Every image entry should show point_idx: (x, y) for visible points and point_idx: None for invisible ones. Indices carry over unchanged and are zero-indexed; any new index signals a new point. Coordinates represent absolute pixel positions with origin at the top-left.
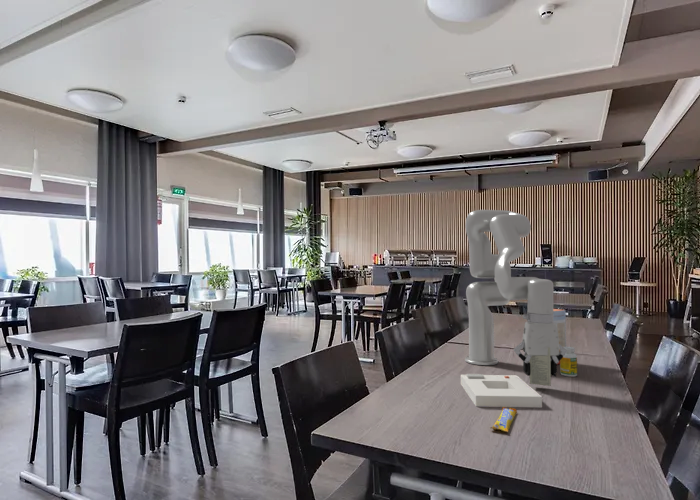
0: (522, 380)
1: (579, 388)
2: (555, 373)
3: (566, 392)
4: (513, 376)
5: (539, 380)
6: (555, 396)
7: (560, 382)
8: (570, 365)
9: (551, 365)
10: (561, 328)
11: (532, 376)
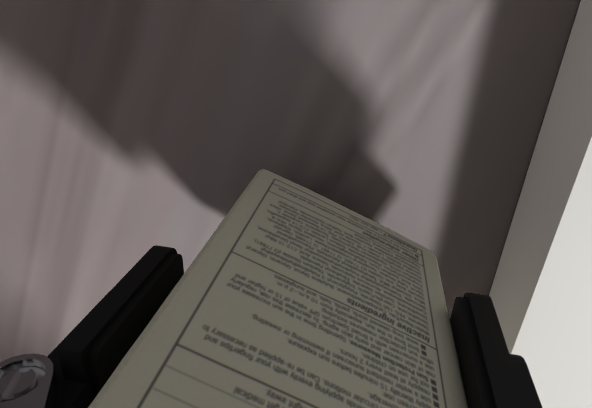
0: (547, 266)
1: (29, 216)
2: (143, 259)
3: (145, 127)
4: (547, 397)
5: (352, 233)
6: (286, 3)
7: None
8: None
9: None
10: None
11: (419, 289)
